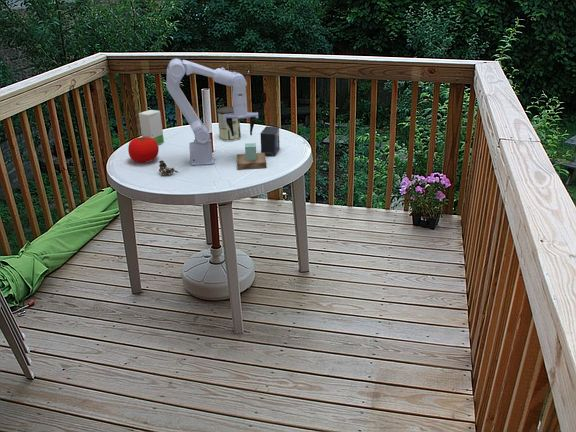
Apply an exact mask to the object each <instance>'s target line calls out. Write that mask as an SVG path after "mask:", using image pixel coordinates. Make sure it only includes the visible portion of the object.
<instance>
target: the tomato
mask: <svg viewBox="0 0 576 432" xmlns="http://www.w3.org/2000/svg"><path fill="white" fill-rule="evenodd" d="M127 147H128V148H127V151H128V155H129V157H130V159H131V160H132V161H133V162H136V163H140V164H141V163H142V164H143V163H144V164H145V163H149V162H152V161H154V160H155V159H156V158H157V157H158V155H159V151H160V150H159V145H158V144H157V142H156V140H154V139H153V138H149V137H142V136H140V137H135V138H133V139H131V140H130V141H129V143H128V146H127Z"/></svg>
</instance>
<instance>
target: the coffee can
mask: <svg viewBox="0 0 576 432" xmlns="http://www.w3.org/2000/svg"><path fill="white" fill-rule="evenodd" d="M216 111H217V121H218V132H219V140H220V139H221V140H220V141H222V140H223V141H222V142H235V140H236V141H238V140H240V139H241V138H242V136H241V135H242V133H241V121H240V119H232V121H233V131H234V136H232V133H231V130H230V128H229V126H228V124H227V122H226V120H224V118H223V114H230V113H234V109H233V106H223V107H220V108H217V109H216Z"/></svg>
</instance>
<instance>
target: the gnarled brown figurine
mask: <svg viewBox="0 0 576 432" xmlns="http://www.w3.org/2000/svg"><path fill="white" fill-rule="evenodd" d="M158 163H159V164H158V165H159V166H158V167H159V169H158V172H160V173H159V175H160V176H161V177H164V176H165V177H166V176H167V177H168V176H172V175H173V174H174V173H176V174H177V173H179V171H178V170H175V167H168V166H167V164H166V163H165V162H164V160H163V159H162V160H160V161H158Z"/></svg>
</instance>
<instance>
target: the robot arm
mask: <svg viewBox="0 0 576 432" xmlns="http://www.w3.org/2000/svg"><path fill="white" fill-rule="evenodd" d="M190 74H191V75H192V74H196V75H200V76H201V75H202V76H205V77H209V78H212V80H213V82H215V83H217V84H220V85H224V86H228V87H232V105H233V106H232V107H233V109H234V113H230V114H223V118H224V120H226V122H227V124H228V126H229V128H230V130H231V133H232V136H234V131H233V121H232V119H249V135H250V136H252V135H253V129H254V126H255V123H256V120H257V119H259V112H250V111H248V101H247V99H248V98H247V85H248V83H247V80H246V78H245V76H244V75H243V74H242V73H240V72H236V71H229V70H227V69H225V67H221V68H220V67H218V68H216V69H213V68H210V67H207V66H205V65H202V64H199V63H195V62H192V61H189V60H186V59H180V58H176V57H175V58H172V59H171V60H170V61H169V63H168V65H167V67H166V82H165V83H166V89H167V91H168V92H169V95H170V97H171V98H172V100H173V101H174V102H175V104H176V106H177V107H178V109H179V110H180V111H181V113H182V115H183V117H184V118H185V120H186V121H187V123H188V124H189V127H190V128H191V131H192V132H193V135H194V139H193V142H192V141H191V142H189V146H188V147H189V159H190V165H191V166H201V165H214V164H215V163H214V162H215V157H214V156H213V148H212V147H213V146H212V140H211V135H210V132H209V127H208V125H206V124H205V123H203V121H202V120H201V119H200V118H199V116H198V114H197V113H196V112H195V109H194V108H193V107H192V105H191V103H190V102H189V101H188V99H187V97H186V95H185V94H184V92H183V90H182V89H181V87H180V85H181V84H180V83H181V80H182V79H183V77H184V76H185V75H186V76H189V75H190Z"/></svg>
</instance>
